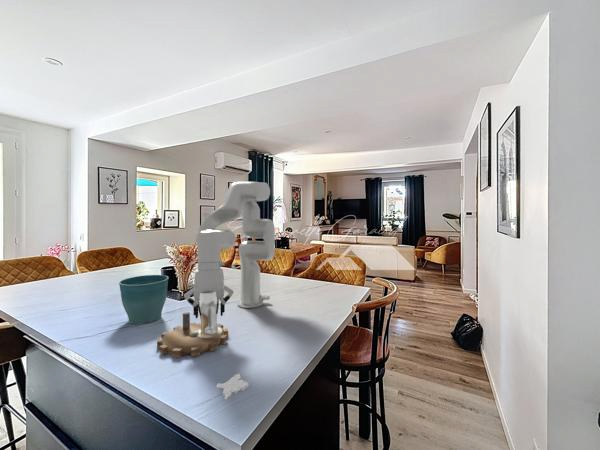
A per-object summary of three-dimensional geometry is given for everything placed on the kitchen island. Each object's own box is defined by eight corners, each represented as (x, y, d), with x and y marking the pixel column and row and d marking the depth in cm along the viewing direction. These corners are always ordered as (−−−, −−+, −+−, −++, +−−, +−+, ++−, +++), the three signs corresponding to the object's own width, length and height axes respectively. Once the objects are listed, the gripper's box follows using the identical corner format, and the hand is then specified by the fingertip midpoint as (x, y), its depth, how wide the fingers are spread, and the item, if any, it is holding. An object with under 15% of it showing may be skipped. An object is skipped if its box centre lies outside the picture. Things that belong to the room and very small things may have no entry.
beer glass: (223, 329, 98) (222, 288, 97) (211, 337, 91) (210, 294, 91) (207, 326, 100) (206, 286, 99) (194, 335, 94) (193, 292, 93)
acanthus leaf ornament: (238, 377, 75) (238, 370, 74) (252, 389, 69) (252, 382, 69) (212, 388, 70) (212, 381, 69) (225, 402, 64) (225, 394, 64)
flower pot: (133, 331, 102) (133, 287, 101) (110, 321, 112) (110, 280, 111) (177, 317, 117) (177, 278, 117) (154, 309, 127) (153, 273, 126)
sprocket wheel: (196, 323, 110) (196, 304, 109) (241, 334, 100) (241, 313, 99) (141, 347, 89) (141, 324, 89) (191, 364, 79) (191, 338, 79)
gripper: (234, 263, 101) (234, 309, 102) (183, 265, 96) (183, 314, 97) (235, 266, 94) (235, 317, 95) (180, 269, 89) (181, 322, 90)
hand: (209, 315), depth 96 cm, fingers open, 7 cm apart
